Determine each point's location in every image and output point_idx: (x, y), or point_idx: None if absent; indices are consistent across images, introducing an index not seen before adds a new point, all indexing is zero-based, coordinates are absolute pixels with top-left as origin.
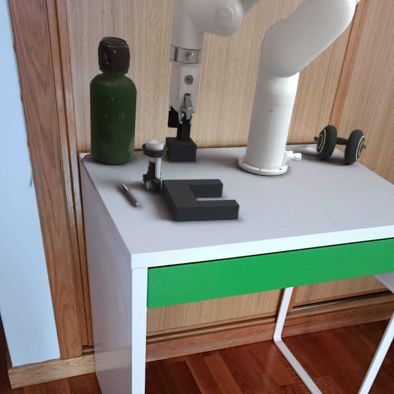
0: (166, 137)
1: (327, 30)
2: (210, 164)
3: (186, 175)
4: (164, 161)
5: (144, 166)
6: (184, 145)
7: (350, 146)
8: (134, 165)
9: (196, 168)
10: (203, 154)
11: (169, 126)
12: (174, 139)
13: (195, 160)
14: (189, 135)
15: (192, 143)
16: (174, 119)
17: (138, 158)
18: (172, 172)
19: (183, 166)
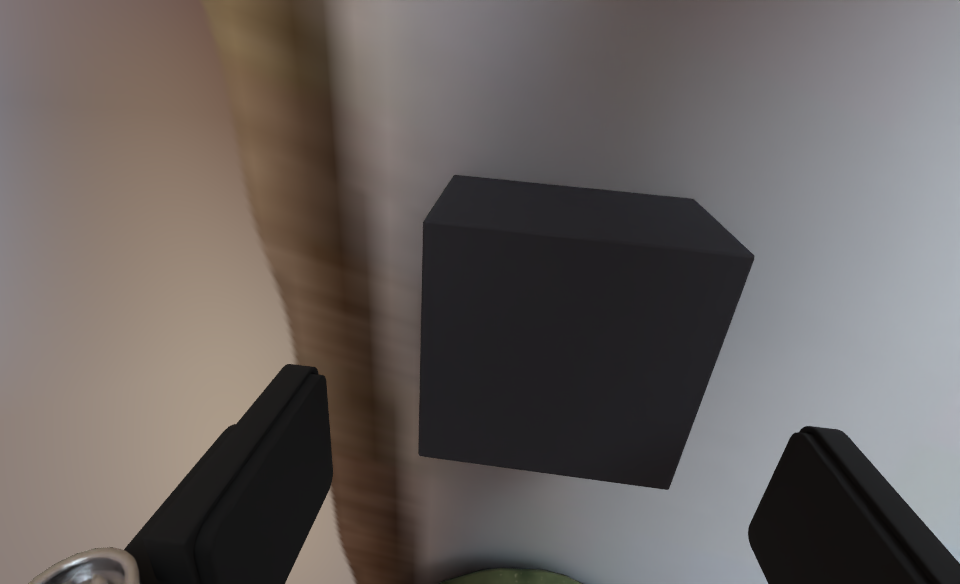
0: (436, 456)
1: None
2: (810, 59)
3: (948, 375)
4: None
5: (669, 540)
6: (704, 386)
7: None
8: (638, 573)
9: (848, 247)
10: (502, 25)
11: (328, 480)
12: (497, 411)
13: (696, 203)
14: (879, 482)
15: (664, 281)
16: (286, 511)
17: (530, 528)
18: None
19: (757, 333)
